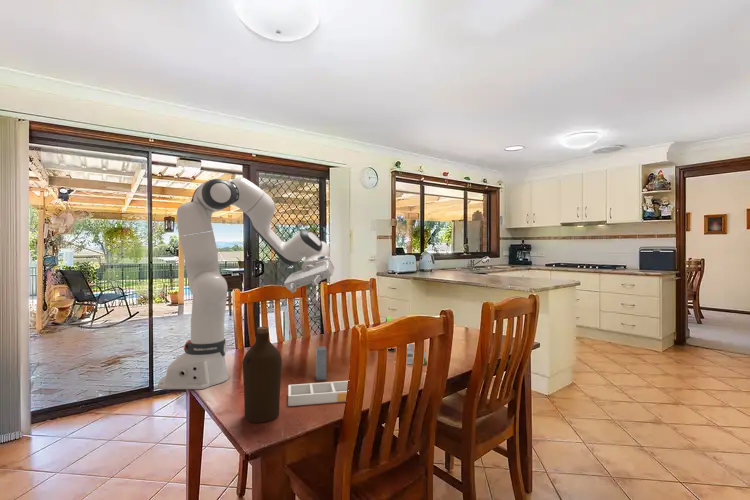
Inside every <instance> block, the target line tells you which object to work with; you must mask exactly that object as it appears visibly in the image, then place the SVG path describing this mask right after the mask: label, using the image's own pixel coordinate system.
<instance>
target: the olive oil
mask: <svg viewBox="0 0 750 500" xmlns="http://www.w3.org/2000/svg"><path fill="white" fill-rule="evenodd" d="M269 330H270V329H269V327H268V326H258V327H257V328H256V341H255V342H254V344H253V345H252V346H251V347H250V348H249V349H248V350H247V352H245V354H244V357H243V361H242V374H243V396H244V397H243V398H244V399H243V400H244V419H245V420H246V421H247V422H250V423H255V424H257V423H258V424H259V423H260V424H261V423H268V422H270V421H273V420H275V419H277V418H278V416H279V414H280V402H281V401H280V400H281V383H282V382H281V379H282V366H283V365H282V364H283V360H282V355H281V353H280V351H279V350H278V348H276V347H275V345H274V344H273V343H272V342H271V341H270V340H269V338H270V332H269Z"/></svg>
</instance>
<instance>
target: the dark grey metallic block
mask: <svg viewBox="0 0 750 500" xmlns="http://www.w3.org/2000/svg"><path fill="white" fill-rule="evenodd" d="M327 354H328V353H327V347H326V346H325V345H324V346H323V345H321V346H315V380H316V381H327V361H328V360H327V357H328V356H327Z"/></svg>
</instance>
